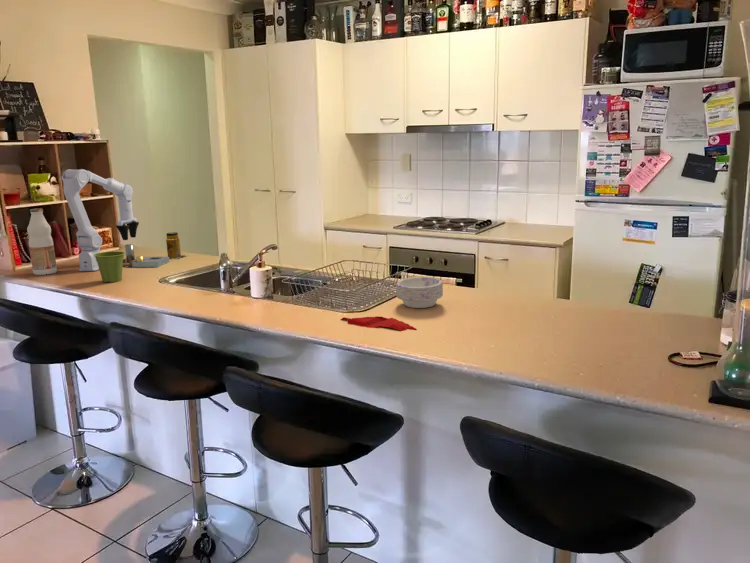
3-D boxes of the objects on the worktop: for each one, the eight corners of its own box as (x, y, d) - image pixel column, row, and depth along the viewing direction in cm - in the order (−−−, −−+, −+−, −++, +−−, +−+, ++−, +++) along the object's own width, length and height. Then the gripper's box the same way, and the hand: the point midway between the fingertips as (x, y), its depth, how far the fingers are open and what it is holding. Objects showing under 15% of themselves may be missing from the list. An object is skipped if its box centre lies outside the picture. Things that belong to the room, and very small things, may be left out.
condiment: (164, 258, 302) (161, 233, 299) (175, 255, 310) (172, 231, 307) (176, 259, 300) (174, 234, 297) (187, 255, 307) (185, 231, 305)
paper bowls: (387, 305, 208) (386, 282, 206) (417, 296, 218) (417, 274, 216) (421, 314, 197) (421, 289, 195) (452, 304, 207) (452, 280, 206)
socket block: (158, 267, 281) (157, 261, 281) (132, 267, 282) (132, 261, 282) (169, 261, 293) (168, 256, 292) (144, 261, 294) (144, 256, 294)
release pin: (141, 266, 283) (141, 257, 282) (136, 266, 283) (135, 257, 282) (144, 264, 286) (143, 256, 285) (138, 264, 286) (138, 256, 285)
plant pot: (114, 284, 248) (110, 256, 246) (90, 283, 252) (86, 255, 250) (134, 278, 259) (131, 251, 257) (111, 277, 263) (107, 250, 261)
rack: (131, 266, 284) (131, 261, 283) (116, 266, 284) (116, 262, 284) (143, 261, 295) (143, 256, 295) (129, 261, 296) (129, 257, 295)
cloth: (429, 327, 185) (429, 320, 184) (400, 339, 174) (400, 332, 174) (362, 313, 201) (362, 307, 201) (333, 324, 191) (332, 317, 191)
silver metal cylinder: (132, 262, 288) (130, 245, 286) (125, 262, 288) (123, 245, 286) (136, 261, 291) (134, 244, 289) (129, 261, 291) (127, 244, 290)
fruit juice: (35, 276, 268) (26, 210, 262) (31, 273, 275) (21, 209, 269) (59, 273, 274) (50, 208, 268) (54, 269, 281) (45, 207, 275)
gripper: (126, 211, 287) (129, 241, 290) (141, 208, 301) (144, 236, 304) (111, 212, 288) (115, 241, 291) (127, 208, 302) (130, 236, 305)
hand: (129, 238), depth 297 cm, fingers open, 7 cm apart
